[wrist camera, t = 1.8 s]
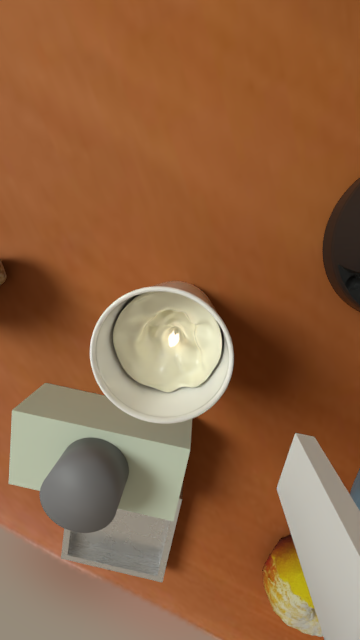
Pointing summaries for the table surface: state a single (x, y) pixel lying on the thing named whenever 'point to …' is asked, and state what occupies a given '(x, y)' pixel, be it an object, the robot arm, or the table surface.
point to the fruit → (290, 588)
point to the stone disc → (2, 273)
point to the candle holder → (162, 353)
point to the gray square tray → (125, 544)
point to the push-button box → (95, 458)
